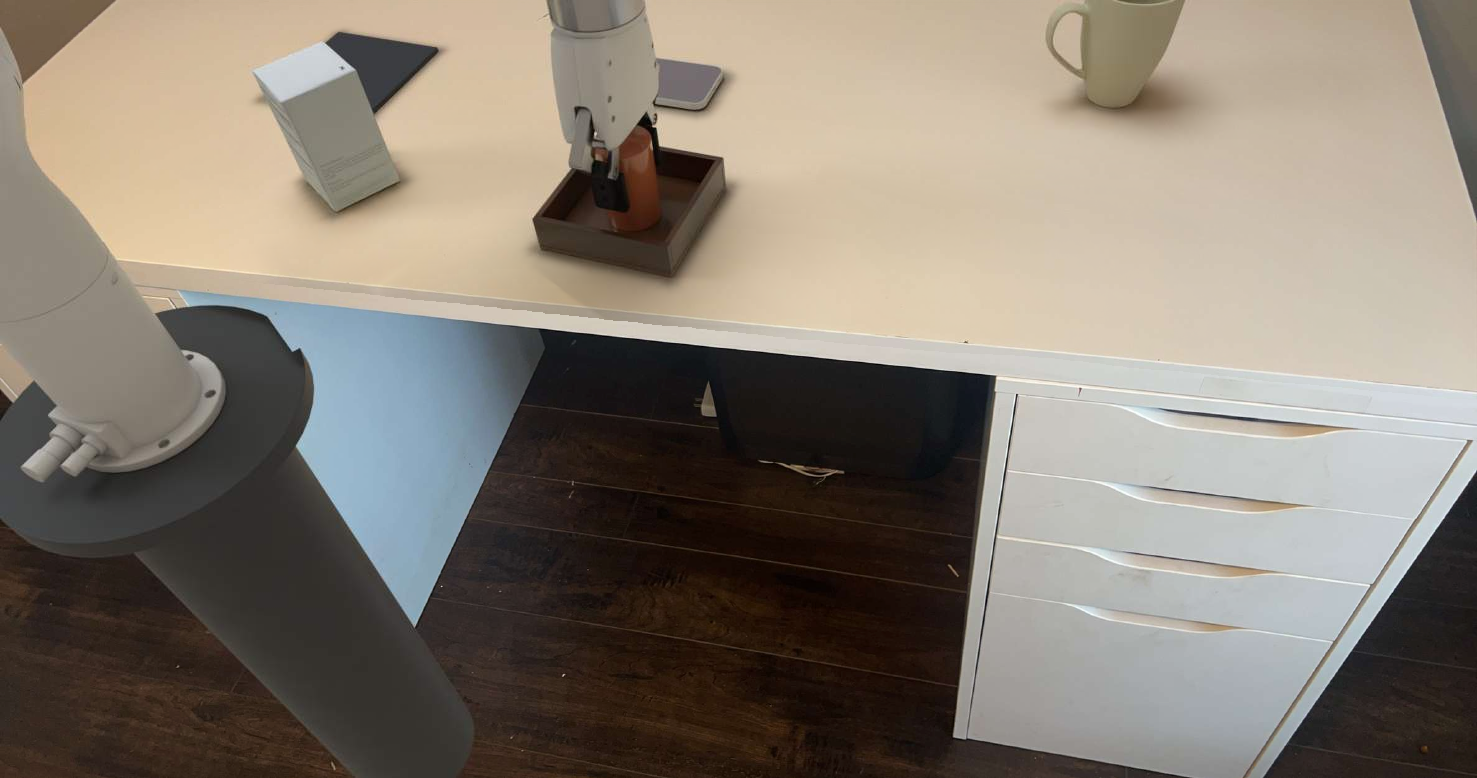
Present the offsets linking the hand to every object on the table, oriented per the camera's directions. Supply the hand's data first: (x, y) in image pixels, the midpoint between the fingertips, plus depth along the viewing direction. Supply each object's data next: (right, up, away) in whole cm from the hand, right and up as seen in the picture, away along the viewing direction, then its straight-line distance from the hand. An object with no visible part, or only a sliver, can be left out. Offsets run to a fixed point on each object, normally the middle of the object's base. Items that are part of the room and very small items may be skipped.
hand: (629, 183), depth 90 cm
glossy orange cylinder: (0, -2, +3) cm, 3 cm away
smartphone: (0, +14, +18) cm, 23 cm away
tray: (0, -3, +3) cm, 4 cm away
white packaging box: (-29, +2, +10) cm, 30 cm away
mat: (-34, +17, +23) cm, 44 cm away
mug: (+47, +11, +11) cm, 49 cm away
